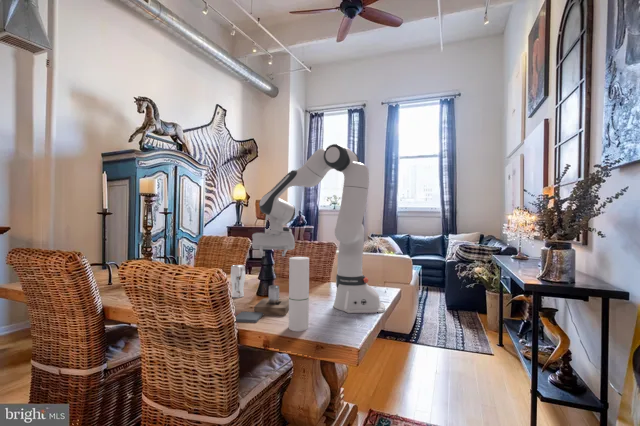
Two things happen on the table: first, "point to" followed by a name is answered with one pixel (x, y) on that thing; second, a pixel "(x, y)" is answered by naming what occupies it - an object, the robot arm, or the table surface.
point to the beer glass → (237, 280)
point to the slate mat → (249, 316)
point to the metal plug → (274, 295)
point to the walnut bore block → (272, 307)
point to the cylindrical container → (298, 293)
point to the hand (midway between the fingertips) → (273, 255)
